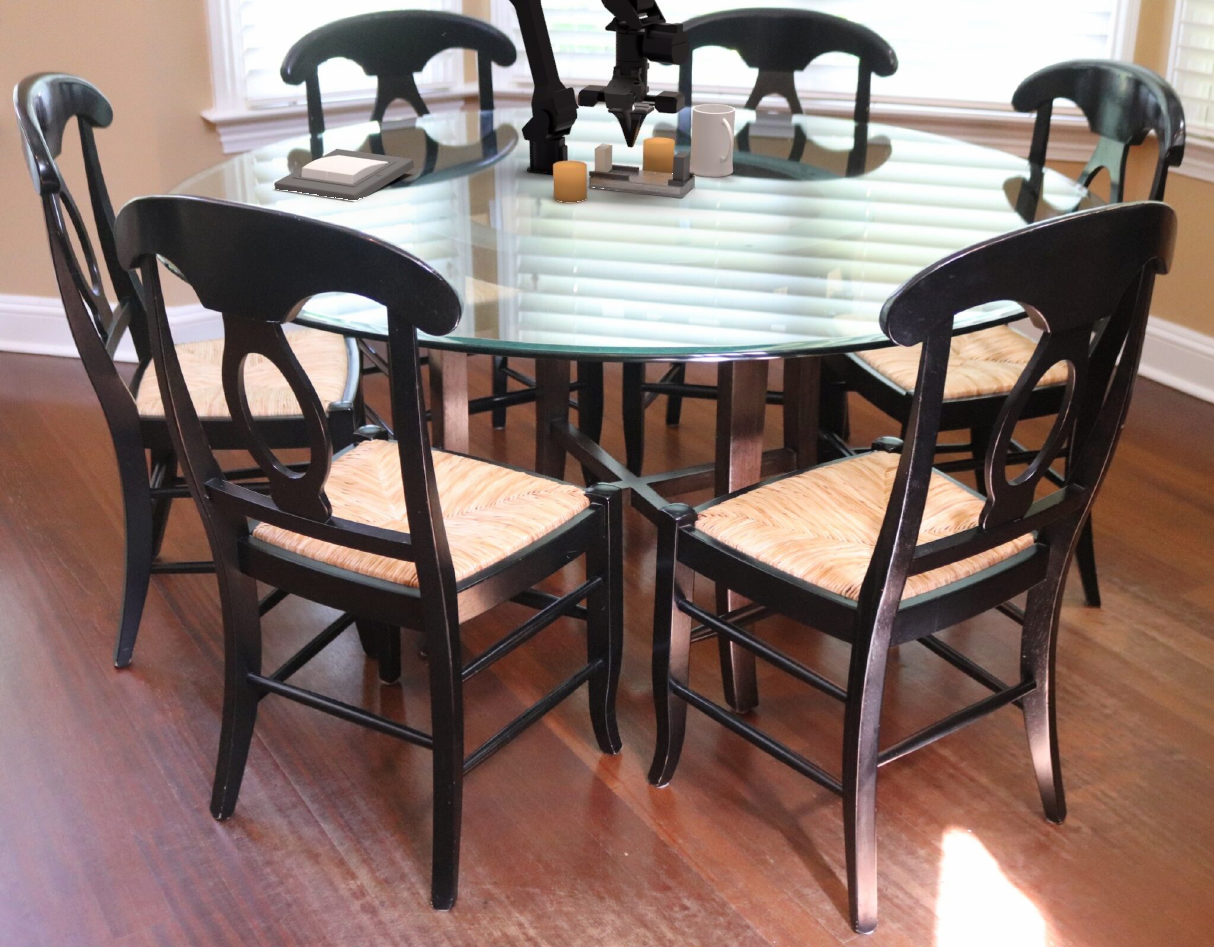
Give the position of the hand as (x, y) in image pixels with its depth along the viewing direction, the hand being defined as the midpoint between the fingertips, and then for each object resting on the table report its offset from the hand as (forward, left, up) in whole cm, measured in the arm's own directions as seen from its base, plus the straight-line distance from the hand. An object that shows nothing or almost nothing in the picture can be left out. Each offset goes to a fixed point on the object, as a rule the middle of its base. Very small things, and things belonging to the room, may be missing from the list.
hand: (630, 147), depth 228 cm
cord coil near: (-8, -11, -7) cm, 15 cm away
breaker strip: (+2, 0, -7) cm, 8 cm away
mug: (+12, +14, -8) cm, 20 cm away
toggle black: (+10, 0, -5) cm, 11 cm away
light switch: (-51, -16, -8) cm, 54 cm away
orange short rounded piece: (+2, +11, -7) cm, 13 cm away
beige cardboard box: (-5, 0, -5) cm, 7 cm away
